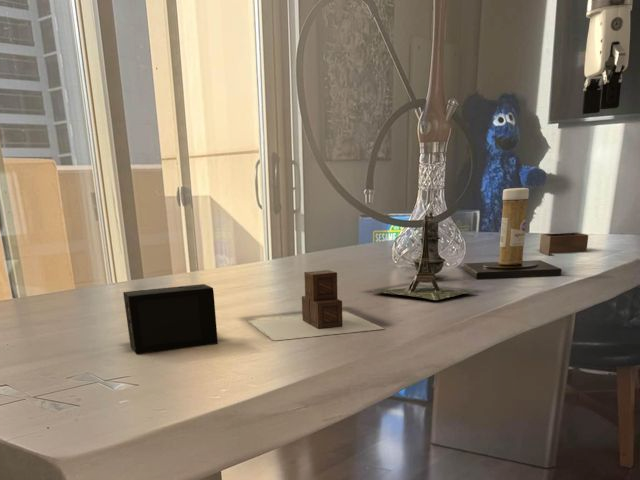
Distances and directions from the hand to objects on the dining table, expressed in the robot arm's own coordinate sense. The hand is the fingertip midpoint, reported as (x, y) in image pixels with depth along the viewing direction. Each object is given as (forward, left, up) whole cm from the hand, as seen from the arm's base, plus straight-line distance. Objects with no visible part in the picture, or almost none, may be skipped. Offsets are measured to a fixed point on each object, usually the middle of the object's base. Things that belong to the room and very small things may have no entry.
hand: (599, 111), depth 131 cm
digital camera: (+70, +68, -28) cm, 101 cm away
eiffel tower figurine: (+36, +35, -28) cm, 57 cm away
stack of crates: (+53, +58, -28) cm, 83 cm away
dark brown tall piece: (+33, +18, -28) cm, 46 cm away
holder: (-1, -18, -28) cm, 33 cm away
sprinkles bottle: (+17, +12, -26) cm, 33 cm away
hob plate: (+17, +12, -28) cm, 34 cm away
